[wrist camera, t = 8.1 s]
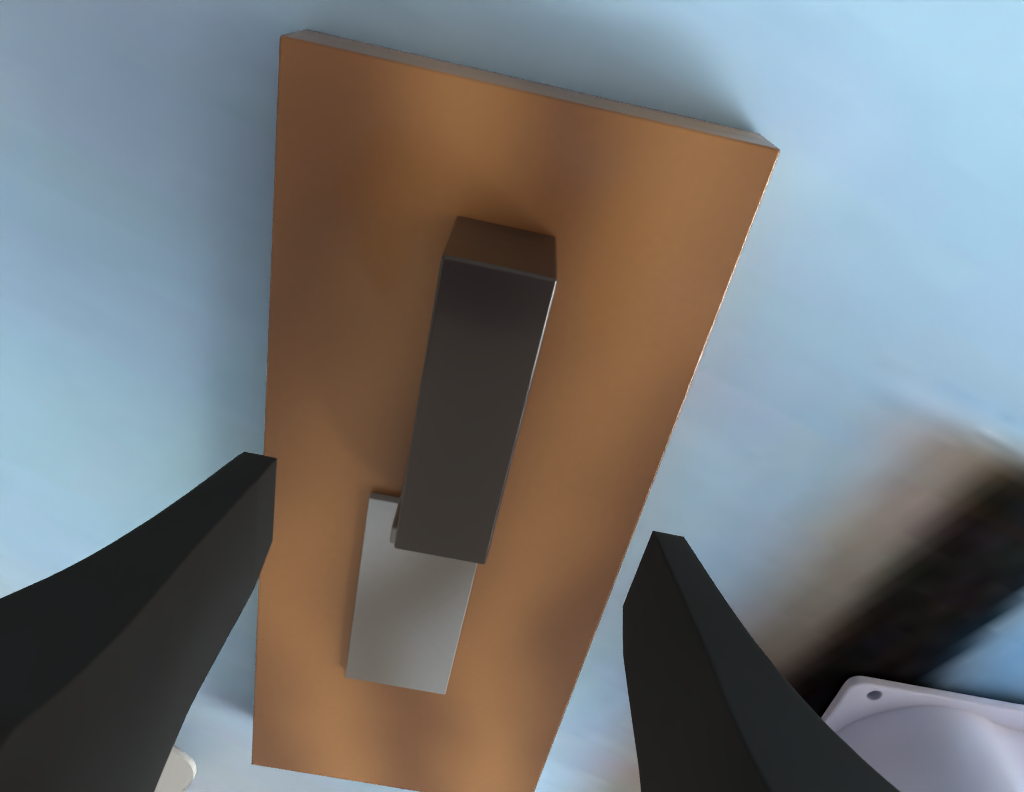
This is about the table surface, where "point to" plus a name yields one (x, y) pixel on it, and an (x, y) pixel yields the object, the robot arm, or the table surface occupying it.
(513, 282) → the two-tone stepped block
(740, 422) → the table surface
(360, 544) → the cutting board
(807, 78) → the table surface
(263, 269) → the table surface
